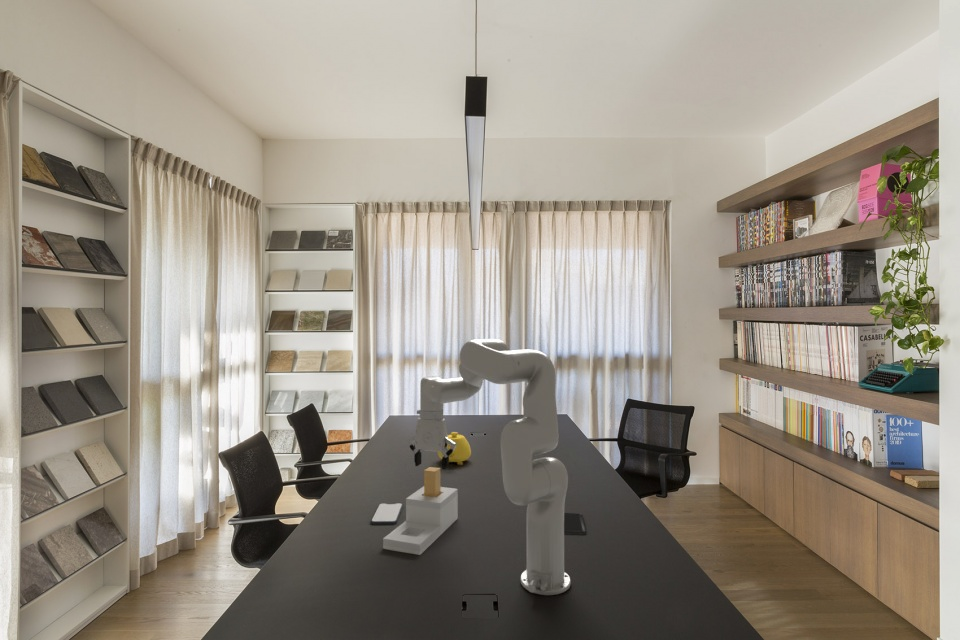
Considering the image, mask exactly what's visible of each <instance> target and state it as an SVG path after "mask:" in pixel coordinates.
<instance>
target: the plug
mask: <svg viewBox="0 0 960 640" xmlns="http://www.w3.org/2000/svg"><path fill="white" fill-rule="evenodd" d="M441 478H442V477H441V467H432V466H429V467H427V468H426V469H424V470H423V482H424V484H423V486H424V496H429V497H438V496H439V495H440V494H441V487H442V485H441Z"/></svg>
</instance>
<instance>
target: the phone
mask: <svg viewBox="0 0 960 640" xmlns="http://www.w3.org/2000/svg"><path fill="white" fill-rule="evenodd" d="M584 520H585V519H584V515H583V514H582V513H574V512H573V513H570V512H569V513H568V512H564V535H565V534H566V535H586V534H587V528H586V523H585V521H584Z"/></svg>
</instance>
